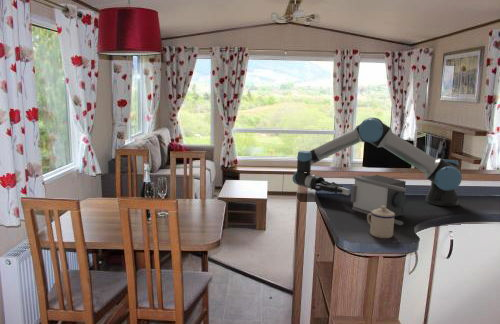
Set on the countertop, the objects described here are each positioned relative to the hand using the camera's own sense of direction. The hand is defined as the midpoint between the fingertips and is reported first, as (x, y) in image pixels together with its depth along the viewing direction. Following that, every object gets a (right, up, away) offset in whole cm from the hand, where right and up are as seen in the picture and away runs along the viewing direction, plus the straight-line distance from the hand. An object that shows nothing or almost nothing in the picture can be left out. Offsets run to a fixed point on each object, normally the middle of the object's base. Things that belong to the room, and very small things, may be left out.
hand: (348, 192), depth 192 cm
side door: (+7, -8, -8) cm, 13 cm away
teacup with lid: (+3, -14, -34) cm, 37 cm away
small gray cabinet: (+15, -10, -8) cm, 19 cm away
